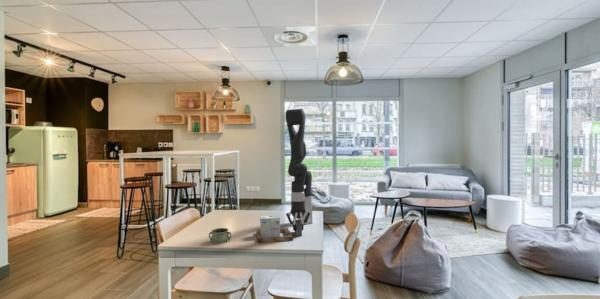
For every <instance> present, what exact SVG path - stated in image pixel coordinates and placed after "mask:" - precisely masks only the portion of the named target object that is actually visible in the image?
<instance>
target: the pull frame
mask: <svg viewBox="0 0 600 299" xmlns="http://www.w3.org/2000/svg"><path fill="white" fill-rule="evenodd" d="M255 232H256V233H255V235H256V238H257V242H258V244H262V243H263V244H265V243H278V242H290V241H291V242H292V241H294V237H297V238H298V237H303V230H302V221H301V220H297V219H296V231H292V232H291V231H290V230H289V227H280V234H281V233H284V234H285V235H283V236H281V235H280V237H265V238H262V236H261V229H256V230H255Z"/></svg>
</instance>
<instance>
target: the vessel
mask: <svg viewBox="0 0 600 299" xmlns="http://www.w3.org/2000/svg"><path fill="white" fill-rule="evenodd" d="M208 237H209V240H210V241H211V242H212V243H213V244H216V245H221V244H226V243H227V242H229V241H231V238H232V237H233V236H232V232H230V231H229V229H228V228H226V227H217V228H214V229H212V230H211V231H210V232H209V234H208Z"/></svg>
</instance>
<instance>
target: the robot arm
mask: <svg viewBox="0 0 600 299" xmlns="http://www.w3.org/2000/svg"><path fill="white" fill-rule="evenodd" d="M285 121H286V126H287V130H288V136H289V144H290V159H289V160H290V161H289V164H288V168H287V173H288V175H289V177H293V179H294V180H292V182H291V188H290V190H291V194H290V211H289V212H286V213H285V215H286V217H287V219H288V222H289V223H290V225H292V231H293V232H295V231H296V220H301V221H302V231H303V230H304V229H305V228H304V225H308V224H309V225H310V224H313V206H312V182H313V181H312V180H313V175H312V172H311V171H309V170H308V166H307V165H306V163H303V161H304V160H305V158H306V156H307V145H306V143H305V140H304V138H305V126H306V125H305V124H306V113H305V110H304V109H303V108H293V109H287V110H285ZM294 126H299V127H298V130H297V131H296V128H295V127H294ZM291 216H293V217H292V219H291Z"/></svg>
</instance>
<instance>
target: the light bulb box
mask: <svg viewBox="0 0 600 299" xmlns="http://www.w3.org/2000/svg"><path fill="white" fill-rule="evenodd" d="M259 222H260V226H259V227H260V229H261V236H262V238H265V237H280V236H281V233H280V228H281V217H280V215H279V214H277V215H260V216H259ZM260 229H259V230H260Z"/></svg>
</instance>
